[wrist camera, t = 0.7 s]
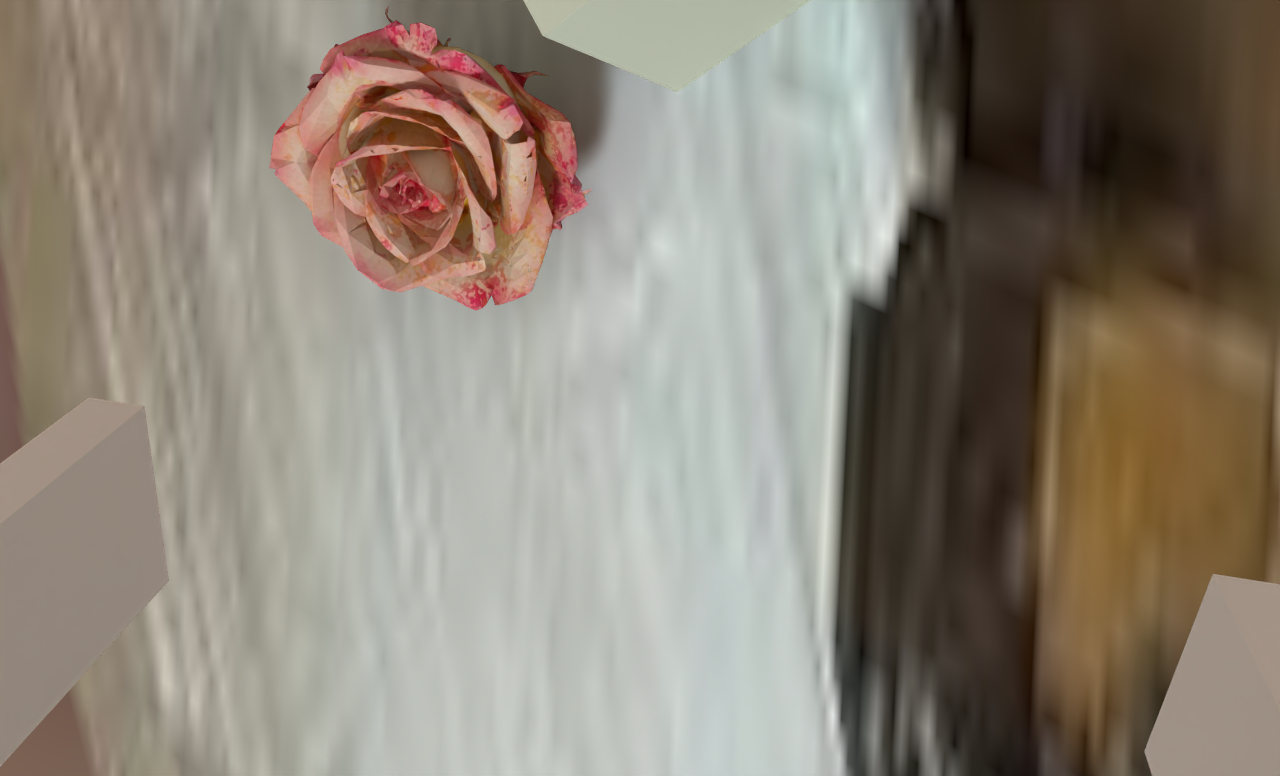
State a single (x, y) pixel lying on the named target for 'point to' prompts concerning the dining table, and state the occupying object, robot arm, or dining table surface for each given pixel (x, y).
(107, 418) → the robot arm
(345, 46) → the flower
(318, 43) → the dining table surface
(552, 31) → the cabinet block
